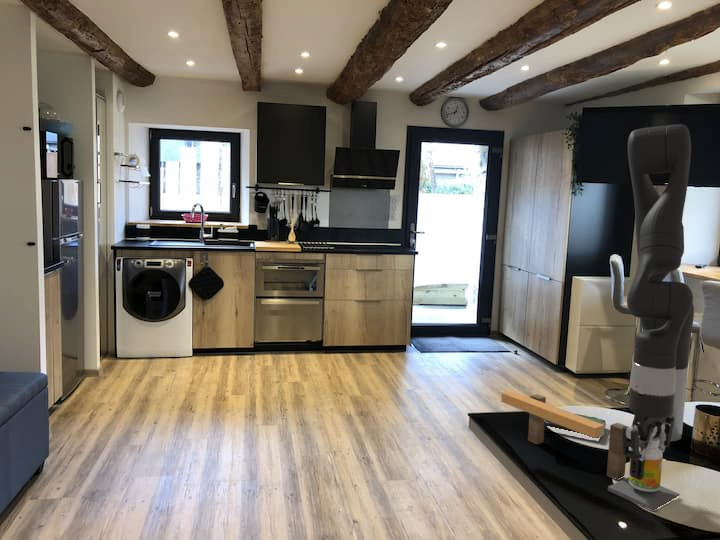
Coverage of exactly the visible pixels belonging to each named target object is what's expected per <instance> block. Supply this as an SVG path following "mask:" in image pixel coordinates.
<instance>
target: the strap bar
mask: <svg viewBox="0 0 720 540" xmlns="http://www.w3.org/2000/svg"><path fill="white" fill-rule="evenodd" d="M500 402H501V403H503V404H506V405H509V406H511V407H514V408H517V409H519V410H521V411H524V412H526V413H529V414H530V413H531V414H533V415H536V416H539V417H541V418H544V419H546V420H549V421H551V422H554V423H556V424H559V425H561V426H564V427H566V428H569V429H571V430H574V431H576V432H579V433H582V434H584V435H587V436H589V437H592V438H597V437H600V436H601V437H603V436H604V435H605V430H604V426H605V427H606V425H603V424H600V423H598V422H595V421H592V420H589V419H587V418H584V417H581V416H579V415H580V414H579V415H576V414H577V413H574V412H570V411H567V410H564V409H562V408H560V407H557V406H554V405H551V404H549V403H543V402H541V401H538V400H535V399H532V398H530V397H529V396H527V395H523V394H521V393H520V392H516V391H514V390H509V391H504V392H501V399H500ZM573 413H574V414H573Z"/></svg>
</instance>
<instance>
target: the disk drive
mask: <svg viewBox="0 0 720 540" xmlns="http://www.w3.org/2000/svg"><path fill="white" fill-rule="evenodd" d="M572 413H573V414H576V415H579V416H581V417H584V418H587V419H589V420H592V421H595V422H598V423H600V424H603V425H605V426H604V427H605V428H606V425H607V424H606V420H605V419H602V418H598V417H595V416H594V417H593V416H587V415H583V414H578V413H574V412H572ZM547 426H550V427H555V428H559V429H564V430H568V431H573V432H576V431H574V430H571V429H569V428H566V427H564V426H561V425H559V424H556V423H554V422H551V421H549V420H546V419H545V422H544V430H547V428H546V427H547ZM577 433H579V432H577ZM581 434H582V433H581ZM597 438H599V437H597Z"/></svg>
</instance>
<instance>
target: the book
mask: <svg viewBox="0 0 720 540" xmlns="http://www.w3.org/2000/svg"><path fill="white" fill-rule="evenodd" d="M607 491H608V492H609V493H612V494H614V495H617V496H619V497H620V498H623V499H626V500H627V501H629V502H631V503H634V504H636V505H638V504H640V505H642V506H644V507H647V508H649V509H651V510H653V511H654V510H655V509H657V508H658V507H660V506H662V505H664V504H666V503H667V502H669V501H671V500H672V499H674V498H676V497H677V496H679V495H680V496H681V494H680V493H679V492H676V491H673V490H671V489H669V488H667V487H664V486H662V485H660V488H659V490H658V491H655V492H646V491H641V490H638V489H636V488H634V487H633V486H631V485H630V483H629V476H628V477H627V478H623V479H621V480H618V481H617V482H615V483H613V484H611V485H609V486H608V487H607ZM640 505H639V506H640ZM642 506H641V507H642ZM644 507H643V508H644ZM649 509H648V510H649ZM651 510H650V511H651ZM653 511H652V512H653ZM654 512H655V511H654Z"/></svg>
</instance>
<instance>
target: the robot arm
mask: <svg viewBox="0 0 720 540" xmlns="http://www.w3.org/2000/svg"><path fill="white" fill-rule="evenodd" d="M691 139H692V138H691V134H690V130H689V128H688V126H686V125H685V124H683V123H682V124H680V123H677V124H668V125H661V126H651V127H643V128H638V129H634V130H633V131H631V132H630V134H629V136H628V140H627V158H628V165H629V173H630V179H631V186H632V193H633V200H634V201H633V202H634V217H635V242H636V251H637V260H638V263H637V268H636V272H635V275H634V278H633V280H632V282H631V283H632V284H631V286H630V288H629V290H628V293H627V298H626V306H627V307H626V308H627V309H628V311H629V312H630V314H631V315H632V316H634V317H635V318H639V322H640V326H641V329H642V330H640V331H639V332H637V333H636V334H635V337H634V343H633V345H634V347H633V358H632V359H633V360H632V365H631V369H630V378H629V392H628V403H627V404H628V405H627V407H628V409H629V410H630V411H631V412H632V413H633V415H634V416H633V419H632V424H631V425H630V426H628V427H626V426H627V425H625V426H624V427H623V429H622V437H623V455H624V456H626V458H627V457H628V458H629V459H630V458H631V464H630V463H629V469H630V475H631V476H632V477H634V478H636V479H639V480H640V479H642V478H643V471H644V458H645V454H646V451H647V450H649V449H650V447H651V444H652V441H653V439H655V438H657V437H659V439H660V443H659V447H658V448H659V449H660V450H661V451H662V453H664V452H665V451H666V448H668V447H670V445H671V442H675V441H680V440H682V435H683V426H684V416H685V415H684V414H685V406H686V405H685V404H686V390H687V389H686V387H687V379H688V378H687V377H688V367H689V366H688V364H689V354H690V345H691V338H692V332H693V331H692V330H693V326H694V318H695V307H694V296H693V294H694V293H693V291H692V289H691V288H690V287H689V286H688V285H687V284H686V283H684V282H680V281H668V280H667V281H665V280H664V279H665V278H666V277H667V276H668V275H669V274H670V273H671V272H674V271H676V270H678V269H679V268H680V267H681V264H682V257H683V256H684V253H685V232H684V231H685V230H684V229H685V227H684V225H683V217H684V210H685V204H686V199H687V192H688V183H689V176H690V167H691V157H692V140H691ZM664 173H665V174H666V173H670V177H669V180H668V183H667V185H666V188H665V189H664V190H663V192H662V193H661V195H660V194H659V193H658V191H657V190H656V188H655V186H654V184H653V181H652V180H651V177H650V175H654V174H664ZM639 439H640V440H642V441H645V443H644V444H643V443H640V442H639ZM639 446H640V447H641V451H640V453H639Z"/></svg>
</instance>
